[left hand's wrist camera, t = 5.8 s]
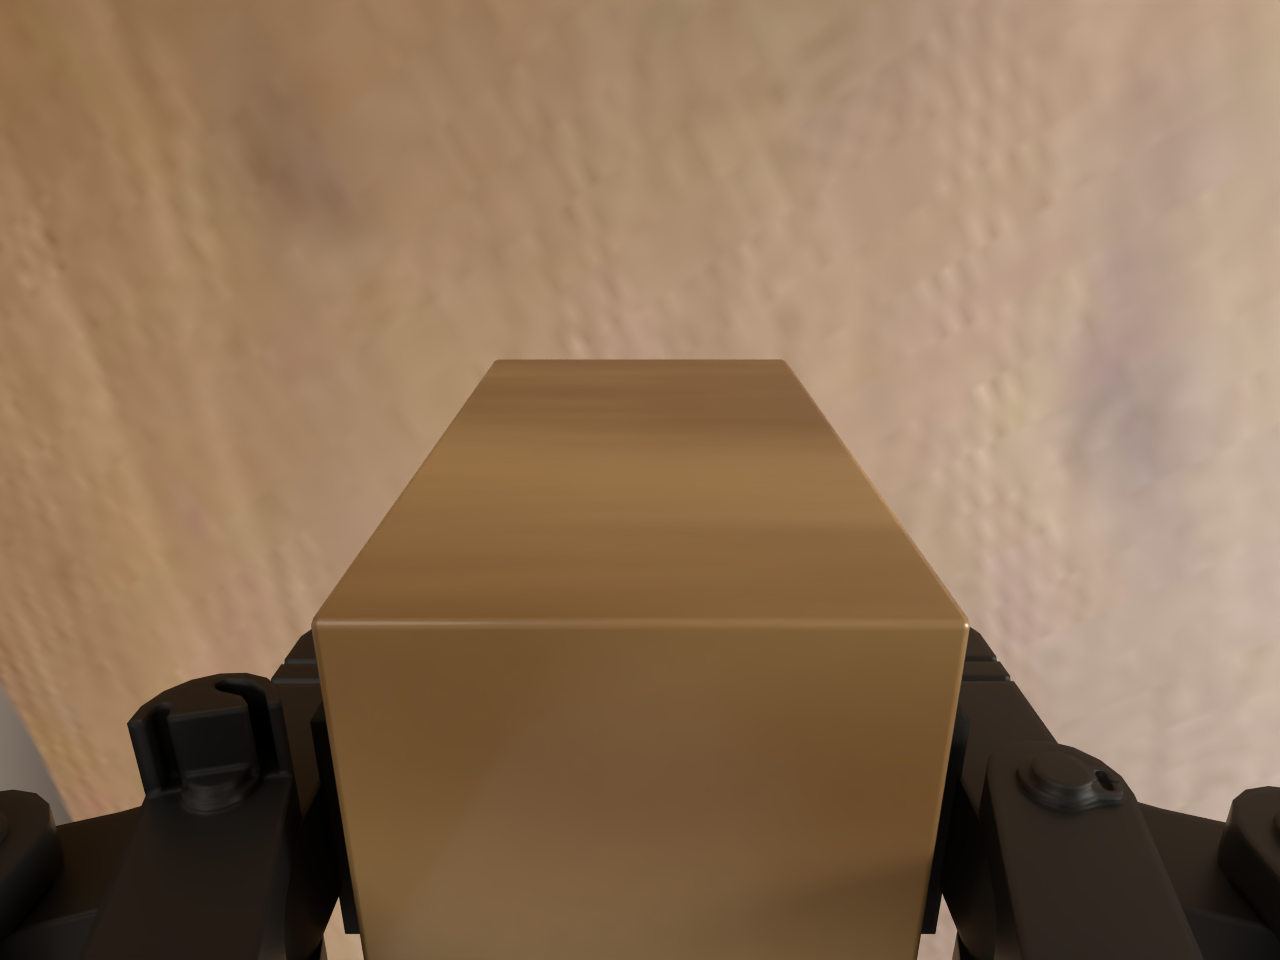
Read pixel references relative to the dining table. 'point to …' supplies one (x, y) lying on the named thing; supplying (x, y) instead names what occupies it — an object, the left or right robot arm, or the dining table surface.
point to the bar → (640, 681)
